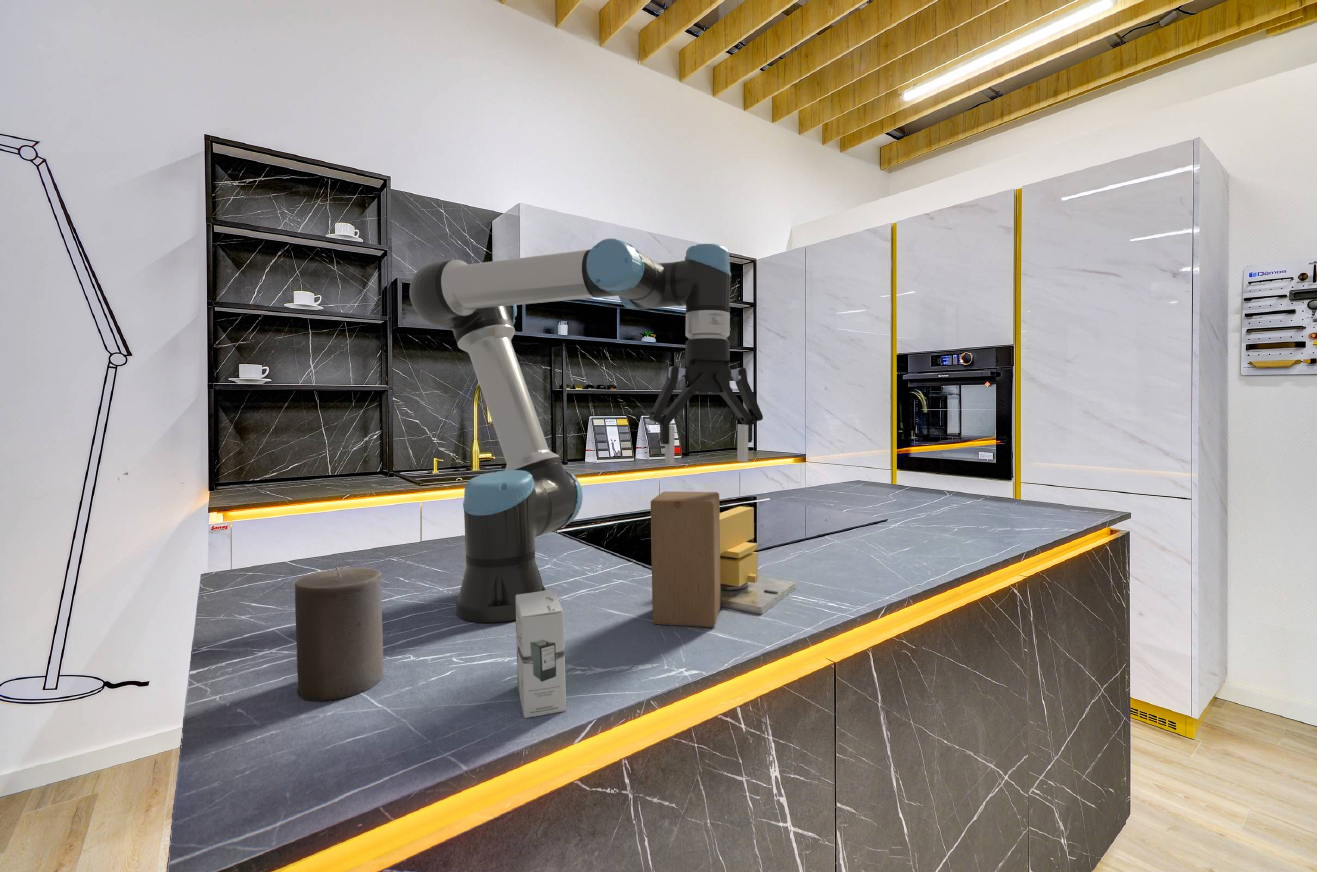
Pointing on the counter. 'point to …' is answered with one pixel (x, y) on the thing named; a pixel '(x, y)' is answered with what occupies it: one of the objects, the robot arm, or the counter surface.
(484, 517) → the robot arm
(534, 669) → the ink box
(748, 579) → the yellow block with bar
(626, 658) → the counter surface
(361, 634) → the pillar candle
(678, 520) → the wooden block
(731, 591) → the base
